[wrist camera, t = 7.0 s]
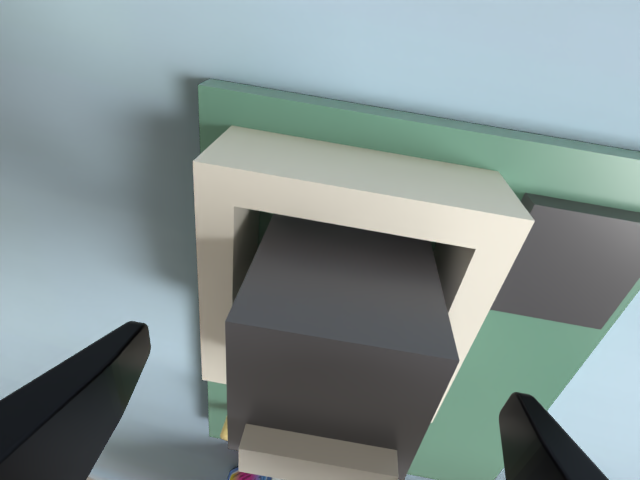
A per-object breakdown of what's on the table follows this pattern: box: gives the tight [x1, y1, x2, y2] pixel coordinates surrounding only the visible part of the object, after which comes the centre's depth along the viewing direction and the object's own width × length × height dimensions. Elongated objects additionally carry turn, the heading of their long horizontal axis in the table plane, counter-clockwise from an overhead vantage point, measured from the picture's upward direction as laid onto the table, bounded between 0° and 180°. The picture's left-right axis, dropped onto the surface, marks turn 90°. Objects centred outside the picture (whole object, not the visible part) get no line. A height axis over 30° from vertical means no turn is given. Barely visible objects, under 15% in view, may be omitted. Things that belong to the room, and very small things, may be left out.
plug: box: [225, 213, 460, 480], centre depth 11 cm, size 4×4×7 cm
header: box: [193, 126, 535, 423], centre depth 12 cm, size 8×8×3 cm
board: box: [198, 79, 640, 480], centre depth 15 cm, size 15×18×2 cm
